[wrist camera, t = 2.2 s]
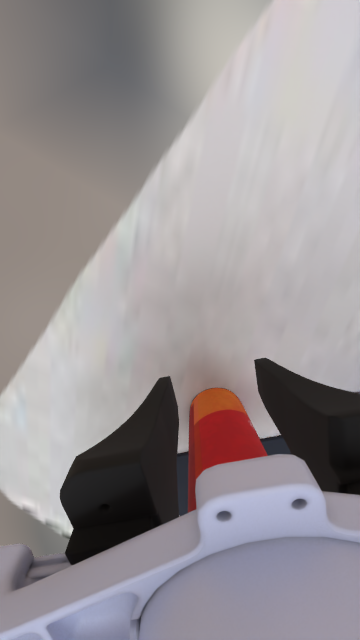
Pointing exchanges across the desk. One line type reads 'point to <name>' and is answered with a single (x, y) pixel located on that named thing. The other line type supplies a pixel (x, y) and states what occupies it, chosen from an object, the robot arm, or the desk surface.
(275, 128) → the desk surface
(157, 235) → the desk surface
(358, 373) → the desk surface
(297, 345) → the desk surface
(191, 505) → the paper cup
